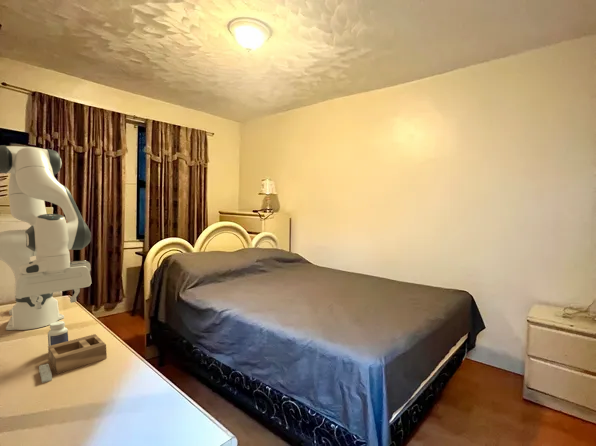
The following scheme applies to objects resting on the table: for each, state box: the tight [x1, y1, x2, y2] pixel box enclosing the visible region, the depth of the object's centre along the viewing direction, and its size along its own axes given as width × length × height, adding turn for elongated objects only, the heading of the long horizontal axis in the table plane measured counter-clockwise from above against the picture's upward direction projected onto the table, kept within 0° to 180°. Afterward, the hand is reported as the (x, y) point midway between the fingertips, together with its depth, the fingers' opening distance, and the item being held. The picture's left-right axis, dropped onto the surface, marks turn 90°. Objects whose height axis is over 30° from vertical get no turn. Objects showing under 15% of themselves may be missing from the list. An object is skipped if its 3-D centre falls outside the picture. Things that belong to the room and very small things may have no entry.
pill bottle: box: [47, 320, 69, 347], centre depth 109 cm, size 5×5×10 cm
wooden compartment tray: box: [47, 333, 108, 375], centre depth 104 cm, size 12×13×4 cm
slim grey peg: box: [38, 363, 53, 384], centre depth 94 cm, size 8×2×2 cm, turn 42°
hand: (56, 305), depth 108 cm, fingers open, 8 cm apart
